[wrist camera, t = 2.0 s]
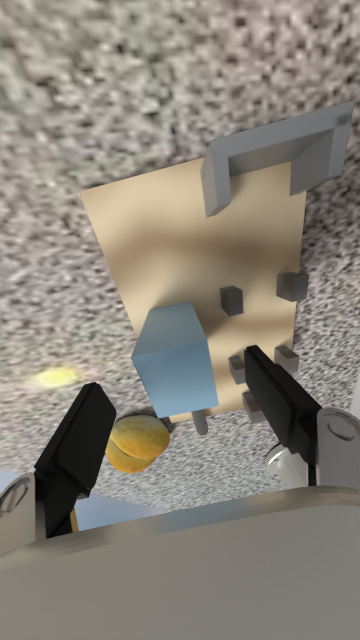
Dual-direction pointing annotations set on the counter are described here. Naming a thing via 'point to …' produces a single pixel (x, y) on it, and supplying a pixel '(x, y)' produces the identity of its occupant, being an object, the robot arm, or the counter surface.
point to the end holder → (279, 153)
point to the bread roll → (136, 443)
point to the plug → (176, 363)
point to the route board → (209, 263)
